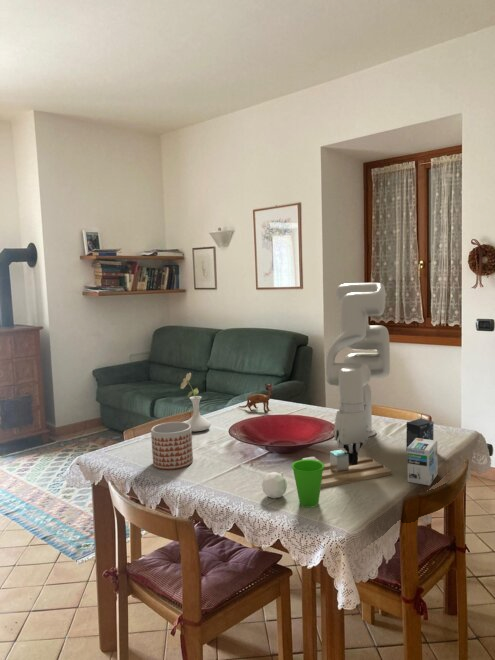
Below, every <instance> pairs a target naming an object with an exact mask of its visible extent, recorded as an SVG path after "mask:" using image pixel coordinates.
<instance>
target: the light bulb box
mask: <svg viewBox="0 0 495 660" xmlns="http://www.w3.org/2000/svg"><path fill="white" fill-rule="evenodd" d="M406 453H407V454H406V456H407V457H406V459H407V482H408V483H413V484H417V485H418V484H419V485H425V486H431V484H432V483H433V481H435V478H437V475H438V440H435V439H433V440H428V439H421V438H416V439H415V440H414V441H413V442H412V443H411V444H410V445H409V446H408V447H407V451H406Z"/></svg>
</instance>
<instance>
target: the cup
mask: <svg viewBox="0 0 495 660" xmlns="http://www.w3.org/2000/svg"><path fill="white" fill-rule="evenodd" d="M324 464H325V463H323V462H322V461H321V460H319V461H317V460H311V459H305V460H302V459H300V460H296V461H294V462H292V464H291V468H292V470H293V475H294V480H295V487H296V490H297V496H298V503H299V504H300V505H301V507H305V508H314V507H316V506H318V504H319V502H320V494H321V493H320V492H321V480H322V473H323V468H324Z"/></svg>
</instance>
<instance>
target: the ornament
mask: <svg viewBox="0 0 495 660" xmlns="http://www.w3.org/2000/svg"><path fill="white" fill-rule="evenodd" d="M261 484H262V485H261V487H262V492H263V493H264V495H266V496H267V497H269V498H272V499H278V498H281V497H282V496H283V495H284V494H286V491H287V488H288V483H287V480H286V478H285V477H284V472H282V471H280V472H276V471H273V472H269V473H267V474H266V475H265V476H264V477H263V479H262V482H261Z"/></svg>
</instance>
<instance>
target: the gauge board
mask: <svg viewBox="0 0 495 660" xmlns="http://www.w3.org/2000/svg"><path fill="white" fill-rule="evenodd" d="M305 459H311V460H317V461H320V460H319V459H318V458H316V457H315V456H309V457H304V458H301V460H305ZM323 464H324V468H323V473H322V480H321V488H329V487H333V486H338V485H344V484H348V483H349V484H350V483H355V482H360V481H365V480H370V479H376V478H380V477H386V476H392V469H389V468H387V467H385V465H384V464H382V463H379V462H377V461H375V460H374V458H373V457H369V456H363V457H358V461H357V465H351V464H350V463H349V470H347V471H341V472H335V471H333V470H332V469H330V462H328V463H323ZM321 488H320V489H321Z"/></svg>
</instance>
